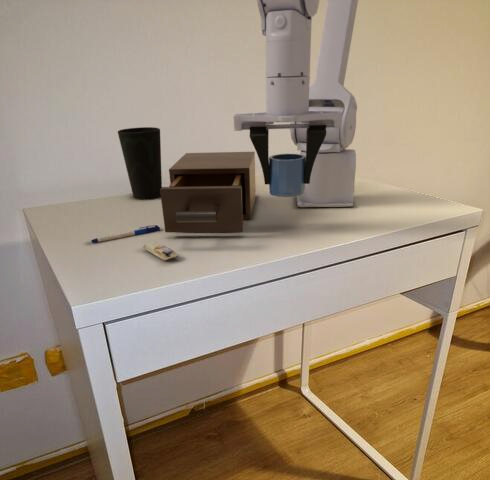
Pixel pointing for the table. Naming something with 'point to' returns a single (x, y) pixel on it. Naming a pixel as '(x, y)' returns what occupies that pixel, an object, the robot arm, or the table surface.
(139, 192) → the cup
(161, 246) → the granola bar
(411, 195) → the table surface
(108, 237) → the ballpoint pen
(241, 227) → the drawer
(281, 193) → the small cup
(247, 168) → the cabinet
